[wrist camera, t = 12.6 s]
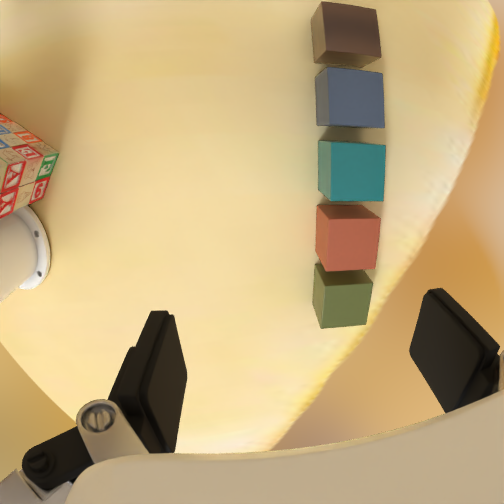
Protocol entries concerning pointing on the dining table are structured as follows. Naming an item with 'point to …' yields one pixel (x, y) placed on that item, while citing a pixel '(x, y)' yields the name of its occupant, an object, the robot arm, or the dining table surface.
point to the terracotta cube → (347, 237)
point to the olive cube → (341, 297)
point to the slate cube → (349, 98)
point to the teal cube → (351, 170)
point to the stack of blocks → (22, 166)
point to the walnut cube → (345, 35)
